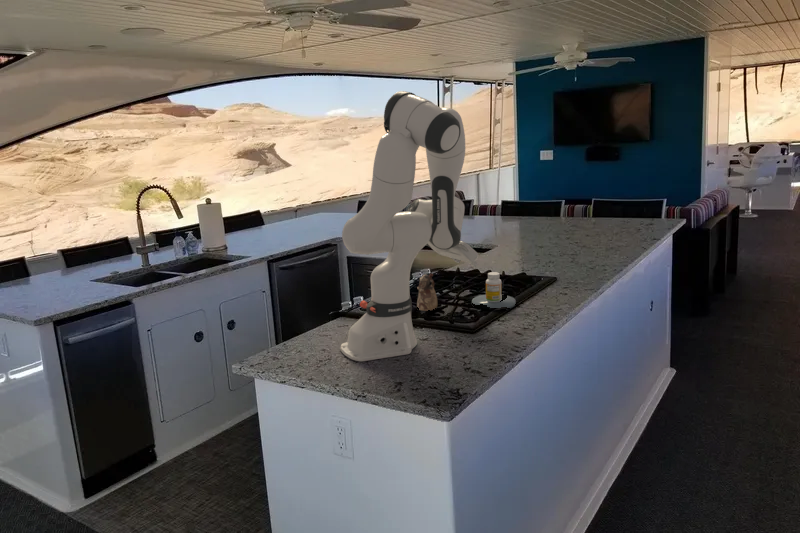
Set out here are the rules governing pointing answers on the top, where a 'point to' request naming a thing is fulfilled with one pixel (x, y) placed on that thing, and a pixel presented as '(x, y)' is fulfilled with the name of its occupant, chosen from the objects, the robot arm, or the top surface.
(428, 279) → the figurine
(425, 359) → the top surface
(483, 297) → the dish
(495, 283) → the supplement bottle
